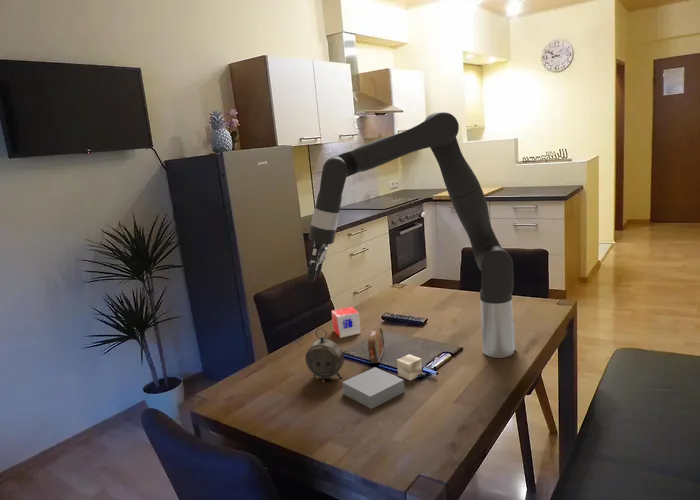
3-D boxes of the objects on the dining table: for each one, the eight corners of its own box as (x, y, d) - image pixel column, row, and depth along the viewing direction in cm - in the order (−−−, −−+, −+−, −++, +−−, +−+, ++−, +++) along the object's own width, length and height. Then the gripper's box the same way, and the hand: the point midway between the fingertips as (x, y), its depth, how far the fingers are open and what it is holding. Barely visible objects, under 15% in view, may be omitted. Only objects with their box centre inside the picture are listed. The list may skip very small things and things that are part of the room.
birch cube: (410, 369, 156) (409, 354, 155) (422, 374, 152) (421, 358, 151) (398, 375, 153) (396, 359, 152) (410, 380, 149) (408, 364, 148)
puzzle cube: (353, 326, 195) (351, 306, 194) (360, 333, 188) (358, 312, 186) (333, 330, 193) (330, 310, 191) (339, 338, 186) (337, 317, 184)
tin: (378, 367, 159) (376, 341, 157) (368, 367, 160) (366, 342, 158) (385, 347, 174) (383, 323, 172) (376, 347, 174) (373, 323, 172)
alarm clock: (346, 376, 156) (340, 325, 152) (340, 384, 151) (334, 332, 147) (313, 374, 159) (306, 324, 156) (306, 382, 154) (299, 331, 151)
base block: (376, 379, 152) (375, 367, 152) (404, 393, 143) (403, 379, 142) (343, 395, 145) (342, 382, 145) (371, 410, 136) (370, 396, 135)
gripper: (331, 232, 145) (320, 287, 148) (340, 225, 159) (330, 275, 162) (305, 225, 145) (295, 280, 149) (316, 219, 159) (306, 269, 163)
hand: (313, 278), depth 155 cm, fingers open, 8 cm apart
